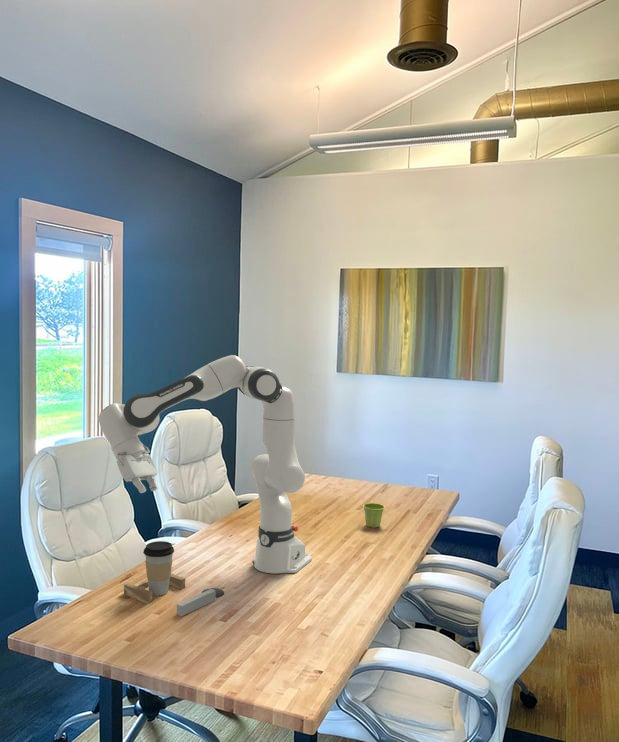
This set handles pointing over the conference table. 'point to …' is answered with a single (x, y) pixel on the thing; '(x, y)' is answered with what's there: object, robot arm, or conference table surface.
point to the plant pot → (373, 514)
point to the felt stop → (196, 602)
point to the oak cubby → (146, 595)
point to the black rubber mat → (218, 592)
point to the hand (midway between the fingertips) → (149, 491)
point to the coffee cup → (158, 566)
